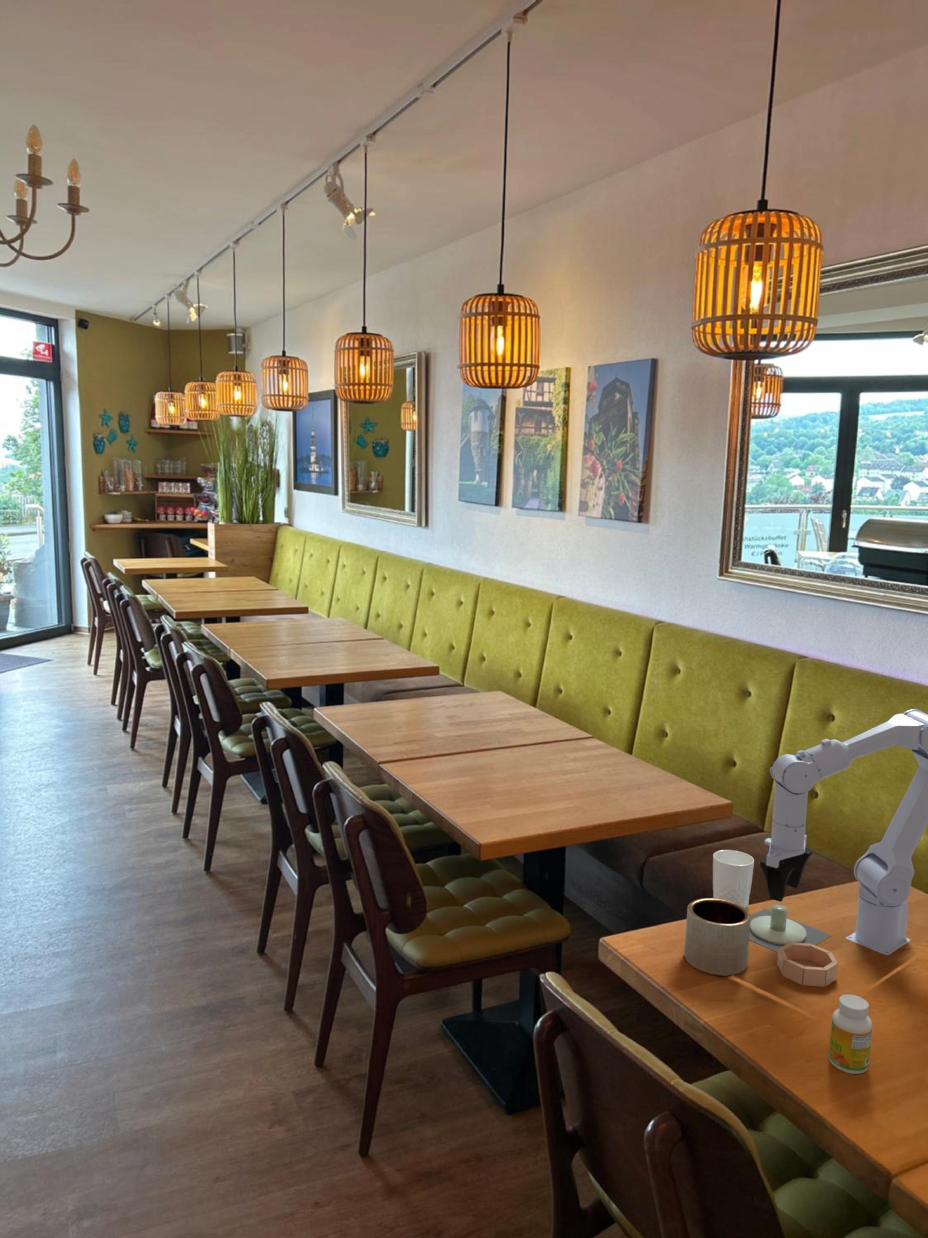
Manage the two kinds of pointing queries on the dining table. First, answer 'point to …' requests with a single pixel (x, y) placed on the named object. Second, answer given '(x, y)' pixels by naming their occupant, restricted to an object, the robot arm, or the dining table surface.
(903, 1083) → the dining table surface
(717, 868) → the white cup
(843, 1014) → the supplement bottle
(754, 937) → the mat
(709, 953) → the planter
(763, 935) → the lid
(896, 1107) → the dining table surface
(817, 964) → the bowl
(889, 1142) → the dining table surface
